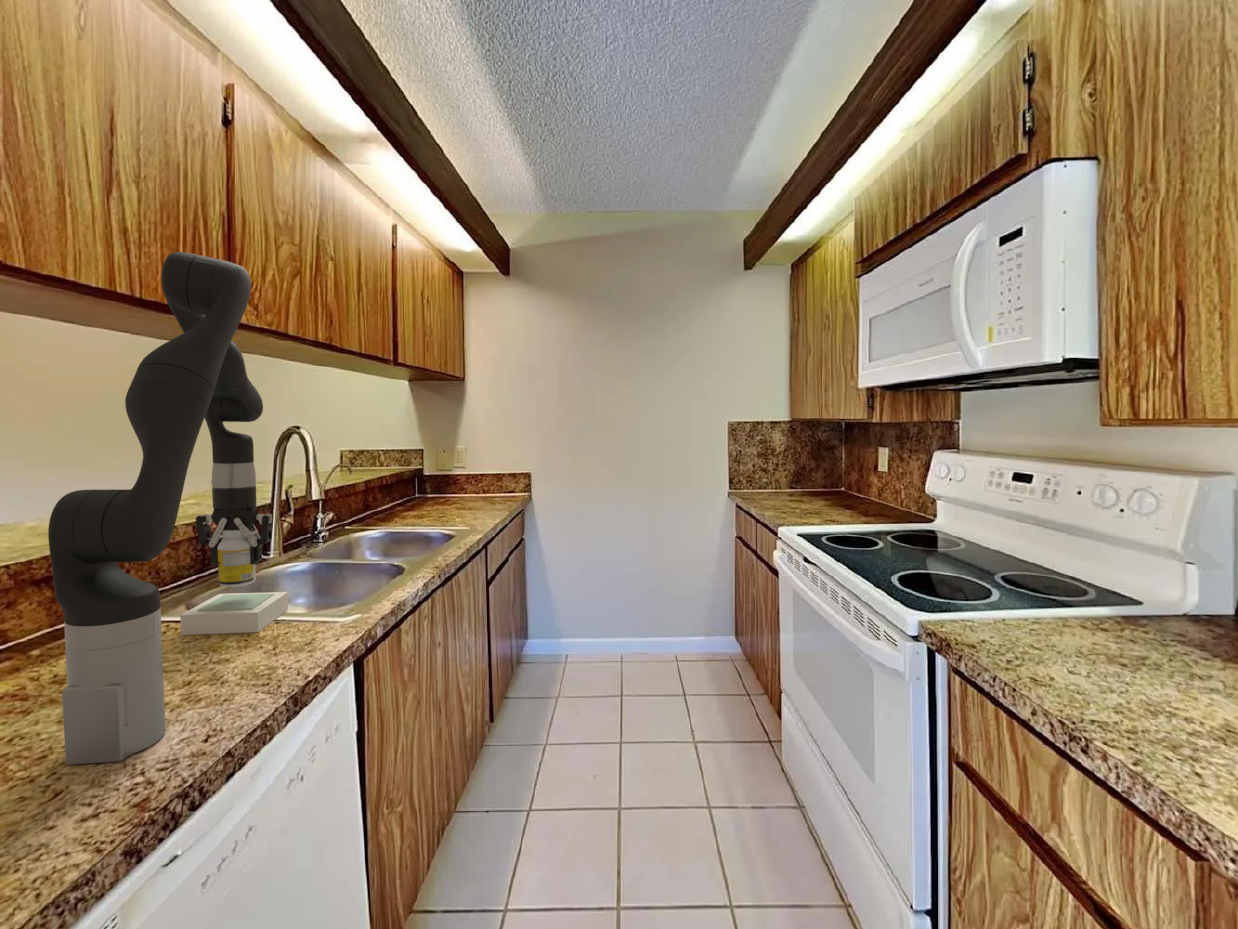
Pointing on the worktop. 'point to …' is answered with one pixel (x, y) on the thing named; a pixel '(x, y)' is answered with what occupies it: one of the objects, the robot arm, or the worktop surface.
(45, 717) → the worktop surface
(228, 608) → the stand
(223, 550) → the pill bottle
